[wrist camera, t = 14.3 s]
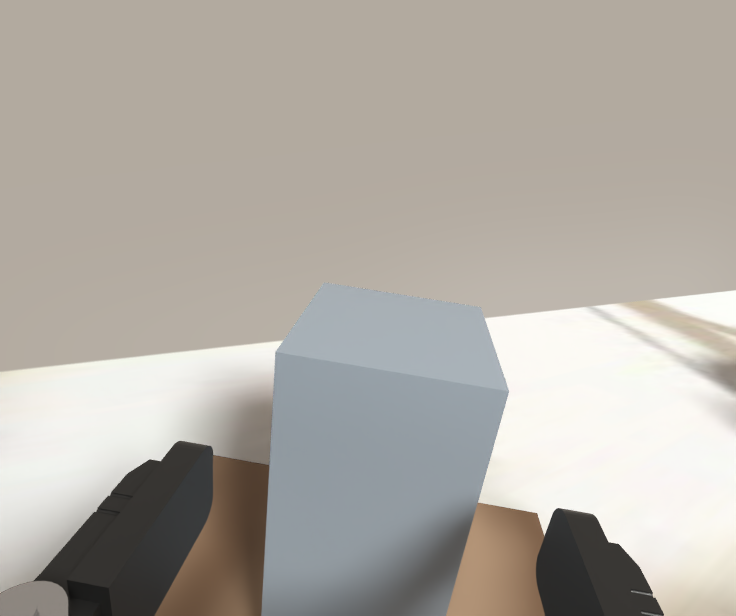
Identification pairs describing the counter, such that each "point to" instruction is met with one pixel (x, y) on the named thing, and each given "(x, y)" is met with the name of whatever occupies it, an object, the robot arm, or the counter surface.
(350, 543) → the tall pale blue block
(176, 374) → the counter surface
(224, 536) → the walnut board
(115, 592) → the robot arm
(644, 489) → the counter surface
